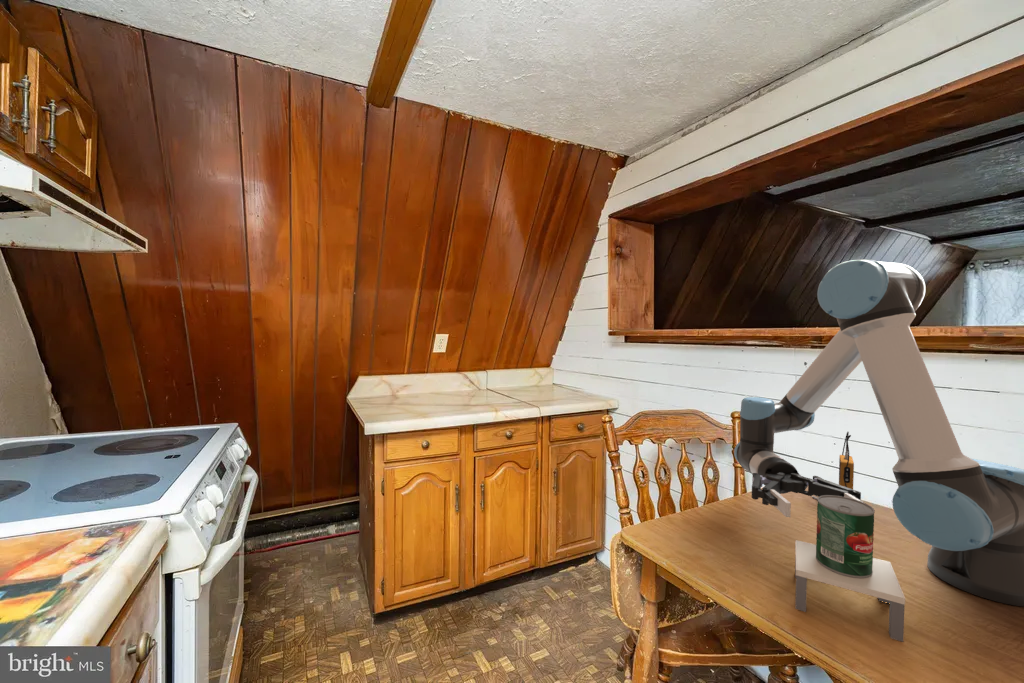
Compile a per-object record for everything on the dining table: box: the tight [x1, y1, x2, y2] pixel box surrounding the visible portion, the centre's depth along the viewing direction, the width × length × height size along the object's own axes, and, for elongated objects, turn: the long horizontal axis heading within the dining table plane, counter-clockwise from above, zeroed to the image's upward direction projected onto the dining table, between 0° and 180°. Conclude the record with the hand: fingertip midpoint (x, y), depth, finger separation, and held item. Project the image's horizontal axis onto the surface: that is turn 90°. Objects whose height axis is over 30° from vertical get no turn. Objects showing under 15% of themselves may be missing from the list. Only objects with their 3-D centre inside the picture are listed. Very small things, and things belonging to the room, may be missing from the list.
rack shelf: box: [794, 539, 906, 643], centre depth 74 cm, size 14×12×7 cm
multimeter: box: [810, 431, 855, 500], centre depth 115 cm, size 15×10×20 cm
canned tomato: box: [815, 495, 876, 578], centre depth 74 cm, size 8×8×11 cm
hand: (828, 512), depth 78 cm, fingers open, 13 cm apart
